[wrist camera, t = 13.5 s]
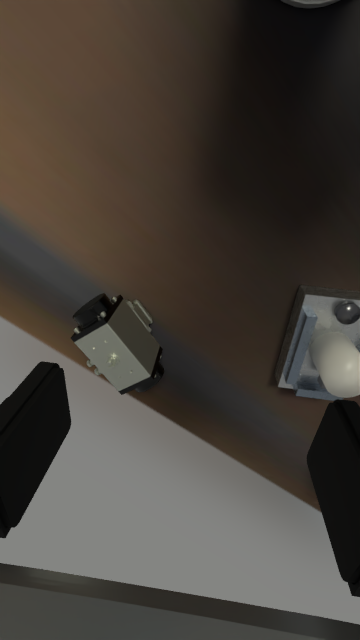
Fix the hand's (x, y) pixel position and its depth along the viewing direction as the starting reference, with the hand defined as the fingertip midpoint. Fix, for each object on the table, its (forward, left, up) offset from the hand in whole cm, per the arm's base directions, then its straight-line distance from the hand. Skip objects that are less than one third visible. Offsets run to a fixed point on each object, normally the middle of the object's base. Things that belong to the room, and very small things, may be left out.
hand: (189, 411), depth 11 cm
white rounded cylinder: (+12, +17, -25) cm, 33 cm away
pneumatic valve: (+12, -9, -28) cm, 32 cm away
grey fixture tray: (+12, +17, -28) cm, 35 cm away
